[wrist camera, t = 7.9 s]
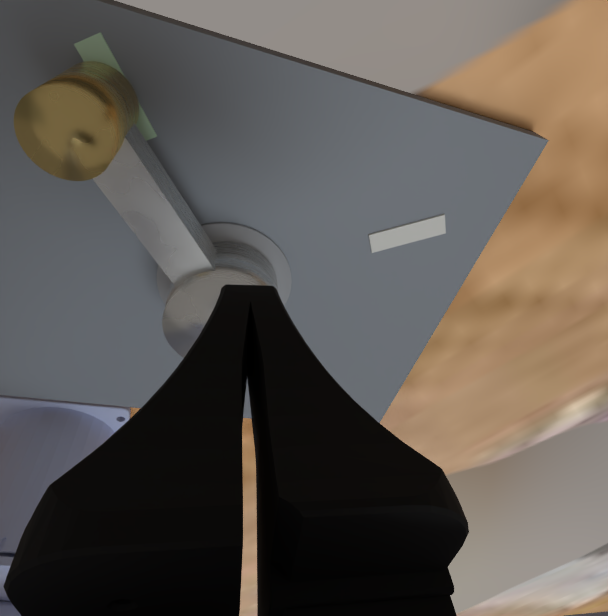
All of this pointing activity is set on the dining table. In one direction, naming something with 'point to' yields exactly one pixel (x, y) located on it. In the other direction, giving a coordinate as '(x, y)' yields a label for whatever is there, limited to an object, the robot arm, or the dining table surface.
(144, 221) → the lever
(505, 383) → the dining table surface
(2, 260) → the stand base
